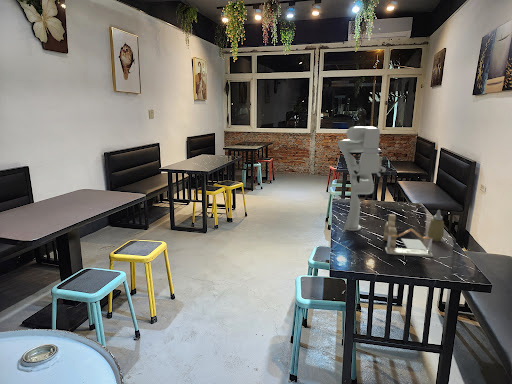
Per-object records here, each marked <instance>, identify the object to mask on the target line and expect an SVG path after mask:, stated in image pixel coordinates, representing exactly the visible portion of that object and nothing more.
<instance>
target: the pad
mask: <svg viewBox="0 0 512 384" xmlns="http://www.w3.org/2000/svg"><path fill="white" fill-rule="evenodd" d="M400 240H401V241H402V244H403V245H404V246H405V247H406V248H405V249H418V250H428V247H426V246H425V245H424V243H423V242H422V241H421V240H420V239H416V238H415V239H413V238H412V239H411V238H400Z"/></svg>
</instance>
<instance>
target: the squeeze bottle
mask: <svg viewBox="0 0 512 384" xmlns="http://www.w3.org/2000/svg"><path fill="white" fill-rule="evenodd" d="M432 217H433V218H432V219H430V222H429V225H428V230H427V237H431V238H432V242H441V241H442V239H443V237H444V232H445V231H444V230H445V229H444V227H445V221H444V220H443V218H444V217H443V216H442V215H441V210H440V209H438V210H437V211H436V214H435V215H433V216H432Z"/></svg>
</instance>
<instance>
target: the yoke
mask: <svg viewBox="0 0 512 384" xmlns="http://www.w3.org/2000/svg"><path fill="white" fill-rule="evenodd" d="M396 218H397V216H396V214H393V213H389V214H388V219H387V220H388V221H385V224H384V232H383V240H384V241H387V242H386V244H387V243H388V235H398V231H397V228H396V227H395V226H396ZM396 243H397V237H391V243H390V247H391V248H396V245H397V244H396Z"/></svg>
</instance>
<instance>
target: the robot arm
mask: <svg viewBox="0 0 512 384" xmlns="http://www.w3.org/2000/svg"><path fill="white" fill-rule="evenodd" d="M380 134H381V129H380V128H378V127H375V126H360V125H359V126H358V125H357V126H351V127H348V129H347V130H346V132H345V135H346V139H340V140H339V145H340V147H341V149H342V151H343V153H344V154H345V157H346V160H347V163H348V167H349V170H350V173H351V182H352V202H351V211H350V214H349V217H348V221H347V224H346V227H345V231H350V232H351V231H353V232H354V231H359V230H361V229H362V225H361V224H359V223H360V222H359V221H360V213H361V212H360V211H361V199H360V198H359V196H358V195H371V194H373V193H374V190H375V184H377V185H379V183H380V181H381V176H383V175H384V174H385V172H386V171H387V168H386V167H384V166H382V165H380V153H381V151H382V149H380V147H379V144H380ZM351 153H361V154H360V157H359V162H358V163H357V159H356V158H355V157H354V156H353V154H351ZM380 170H381V172H380ZM372 174H376V179H375V184H374V180H373V176H372Z"/></svg>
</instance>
